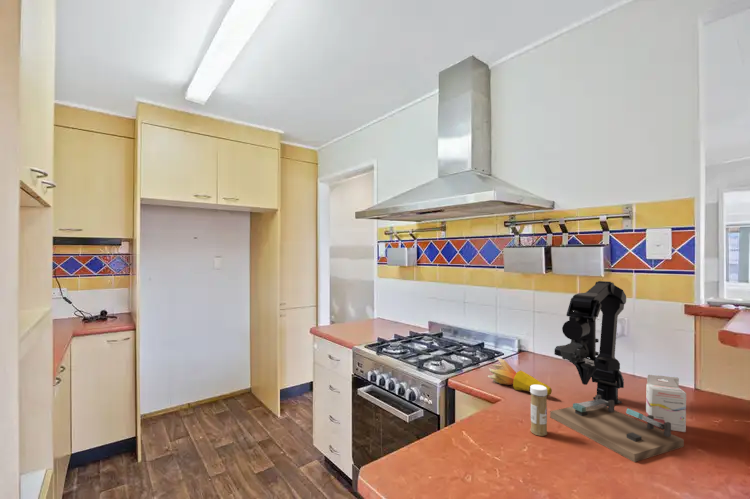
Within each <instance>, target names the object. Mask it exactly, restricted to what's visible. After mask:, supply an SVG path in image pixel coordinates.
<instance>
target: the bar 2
mask: <svg viewBox="0 0 750 499" xmlns="http://www.w3.org/2000/svg"><path fill="white" fill-rule="evenodd" d="M625 413H626V415H628V416H631V417H633V418H635V419H636V418H637V419H638V420H639V419H640V421H642V422H643V421H644V422H645V423H647V422H648V423H650V424H652V425H654V426H656V427H659V428H658V429H661V430H663V431H664V424H662V423H660V422H657V421H655V420H653V419H651V418H648V417H646V415H644V414H642V413H640V412H638V411H635V410H634V409H631V408H627V409H626V411H625Z"/></svg>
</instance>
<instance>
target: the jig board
mask: <svg viewBox="0 0 750 499" xmlns="http://www.w3.org/2000/svg"><path fill="white" fill-rule="evenodd" d="M594 397H595V399H594V400H597V399H601V395H597V394H595V396H594ZM549 413H550V415H549V416H550V417H549V418H551V419H552V420H554V421H556V422H558V423H560V424H562V425H564V426H566V427H567V428H570V429H571V430H573V431H575V432H577V433H578V434H581V435H583V436H585V437H587V438H588V439H589V440H592V441H594V442H595V443H598V444H599V445H601V446H603V447H604V448H605V447H606V448H607V449H609V450H611V451H613V452H614V453H616V454H618V455H620V456H622V457H624V458H626V459H628V460H630V461H631V462H633V463H636V462H639V461H643V460H646V459H648V458H652V457H655V456H658V455H661V454H665V453H668V452H671V451H674V450H677V449H680V448H683V447H684V446H685V443H684V442H685V440H684V438H681V437H679V436H677V435H675V434H672V430H671V423H669V422H666V423H664V430H663V429H661V428H656V427H654V425H652V424H650V423H648V422H645V421H644V422H643V420H639V419H638V418H637V419H636V418H635V417H633V416H631V415H628V414H624V413H622V412H619V411H618V410H615V405H614V400H608V407H603V408H598V409H594V410H589V411H586V412H580V411H578V410H576V409H574V408H573V405H572V406H569V407H564V408H558V409H553V410H551V411H550V412H549ZM647 417H648V418H651V419H653V420H654V416H652V415H649V416H647Z"/></svg>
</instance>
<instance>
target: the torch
mask: <svg viewBox="0 0 750 499" xmlns="http://www.w3.org/2000/svg"><path fill="white" fill-rule="evenodd" d="M496 359H497V360H498V362H499V364H497V363H496V364H495V363H494V364H491V365H492V366H493V367H494V368H490V367H488V370H489V372H491V374H492V375H491V374H490V375H489V374H488V375H487V377H488V378H489V379H491V380H493V381H492V382H493V383H497V384H501V385H506V386H507V385H508V386H511V385H512V388H513V389H514V390H515V391H527V392H529V393H531V392H530V386H531V385H542V386H545V387H546V388H547V396H550V395H552V392H553V391H552V390H553V389H552V388H551V387H550V386H549V385H547V383H544V382H542V381H540V380H538V379H537V378H535V377H533V376H531V375H530V374H529V373H527V372H524V371H523V370H519V371H515V369H514V368H513V367H512V366H511V365H510V364H509V363H508V362H507V360H504V359H503V358H500V357H496Z"/></svg>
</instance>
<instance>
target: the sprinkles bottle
mask: <svg viewBox="0 0 750 499" xmlns="http://www.w3.org/2000/svg"><path fill="white" fill-rule="evenodd" d="M529 393H530V432H531V434H533V435H535V436H539V437H544V436H547V435H548V429H547V428H548V427H547V426H548V408H547V406H548V404H547V402H548V400H547V399H548V398H547V397H548V395H547V388H546V387H545V386H542V385H531V386H530V392H529Z"/></svg>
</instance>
